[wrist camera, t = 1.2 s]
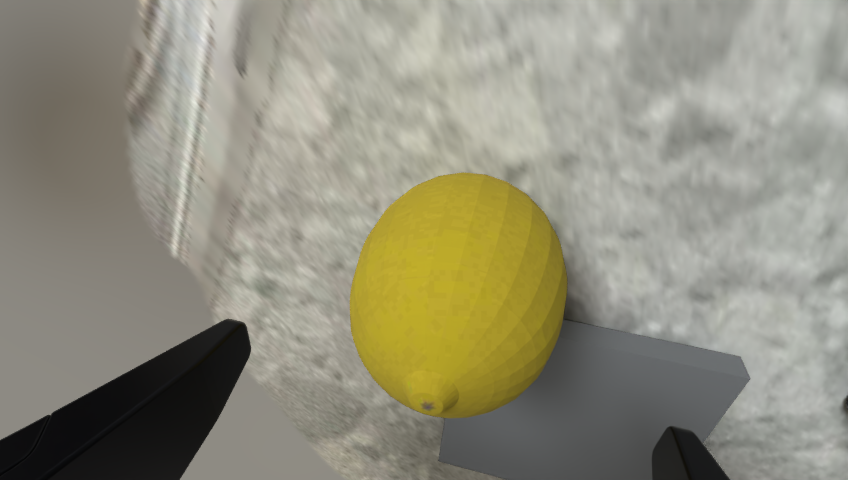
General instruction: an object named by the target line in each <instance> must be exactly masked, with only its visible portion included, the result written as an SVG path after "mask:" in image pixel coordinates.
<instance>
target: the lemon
mask: <svg viewBox="0 0 848 480" xmlns="http://www.w3.org/2000/svg"><path fill="white" fill-rule="evenodd" d="M566 295H567V273H566V268H565V264H564V259H563V254H562V249H561V245H560V242H559V239H558V237H557V235H556V233H555V231H554V229H553V228H552V226H551V224H550V222H549V220H548V218H547V217H546V215H545V213H544V212H543V211H542V210H541V209H540V208H539V207H538V206H537V205H536V204H535V203H534V201H533V200H532V199H531V198H530V197H529V196H528V195H527V194H525V193H524V192H522V191H521V190H519V189H517V188H516V187H514V186H513V185H511V184H509V183H508V182H506V181H503V180H500V179H497V178H494V177H491V176H488V175H483V174H473V173H457V174H450V175H443V176H438V177H436V178H433V179H431V180H428V181H426V182H424V183H421V184H419V185H417V186H415V187H413V188H412V189H410V190H409V191H408V192H407V193H405V194H404V195H403V196H401V197H400V198H399V199H398V200H396V201H395V202H394V203H393V204H391V205H390V206H389V207H388V209H387V210H386V211H385V212H384V214H383V215H382V216H381V218H380V219H379V221H378V222H377V224H376V225H375V227H374V228H373V230H372V231H371V232H370V234H369V235H368V237H367V239H366V241H365V243H364V246H363V248H362V251H361V254H360V257H359V261H358V264H357V268H356V271H355V275H354V278H353V282H352V287H351V294H350V320H351V332H352V336H353V340H354V343H355V346H356V348H357V351H358V354H359V356H360V358H361V360H362V362H363V364H364V366H365V367H366V369H367V370H368V371H369V373H370V374H371V376H372V377H373V379H374V380H375V381H376V382H377V383H378V384H379V385H380V386H381V387H382V388H383V389H384V390H385V391H386V392H387V393H388V394H389V395H390V396H391V397H393V398H394V399H396V400H397V401H399V402H400V403H402V404H403V405H405V406H407V407H409V408H411V409H413V410H416V411H418V412H420V413H423V414H426V415H431V416H435V417H443V418H468V417H472V416H477V415H481V414H485V413H489V412H492V411H494V410H496V409H498V408H500V407H502V406H504V405H506V404H508V403H509V402H511V401H513V400H515V399H516V398H517V397H518V396H519V395H520V394H521V393H523V392H524V391H525V390H526V389H527V388H528V387H529V386H530V385H531V384H532V383H533V382H534V381H535V380H536V379H537V378H538V376H539V375H540V373H541V372H542V370H543V368H544V366H545V364H546V362H547V361H548V359H549V357H550V355H551V353H552V351H553V349H554V347H555V344H556V342H557V339H558V337H559V334H560V330H561V327H562V323H563V316H564V310H565V302H566Z"/></svg>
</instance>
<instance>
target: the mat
mask: <svg viewBox="0 0 848 480" xmlns="http://www.w3.org/2000/svg"><path fill="white" fill-rule="evenodd" d="M749 380H750V377H749V374H748V372H747V370H746V368H745V365H744V363H743V361H742V359H741V357H740V356H735V355H730V354H725V353H721V352H716V351H711V350H706V349H702V348H697V347H692V346H688V345H683V344H678V343H673V342H669V341H664V340H659V339H654V338H650V337H645V336H640V335H635V334H631V333H626V332H621V331H616V330H612V329H607V328H602V327H597V326H593V325H588V324H583V323H578V322H574V321H569V320H564V319H563V323H562V327H561V330H560V334H559V337H558V339H557V342H556V344H555V347H554V349H553V351H552V353H551V355H550V357H549V359H548V361H547V362H546V364H545V366H544V368H543V370H542V372H541V373H540V375H539V376H538V378H537V379H536V380H535V381H534V382H533V383H532V384H531V385H530V386H529V387H528V388H527V389H526V390H525V391H524V392H523V393H521V394H520V395H519V396H518V397H517V398H516V399H515V400H513V401H511V402H509V403H508V404H506V405H504V406H502V407H500V408H498V409H496V410H494V411H492V412H489V413H485V414H481V415H477V416H472V417H468V418H445V422H444V428H443V435H442V441H441V447H440V453H439V460H438V461H440V462H443V463H447V464H451V465H455V466H458V467H462V468H466V469H469V470H473V471H477V472H480V473H484V474H488V475H492V476H495V477H499V478H503V479H506V480H652V452H653V449H654V447H655V445H656V444H657V442H658V441H659V439H660V437H661V436H662V434H663V433H664V431H665V430H666V428H667V427H669V426H676V427H681V428H685V429H689V430H691V431H693V432H694V433H695V434H696V435H697V436H698V438H699V439H700V440H701V442H702V443H703V442H704V441H705V439H706V438H707V437H708V435H709V434H710V433H711V431H712V430H713V429H714V427H715V426H716V425H717V423H718V422H719V421H720V419H721V418H722V416H723V415H724V414H725V412H726V411H727V410H728V408H729V407H730V406H731V404H732V403H733V402H734V400H735V399H736V398H737V396H738V395H739V394H740V392H741V391H742V389H743V388H744V387H745V385H746V384H747V383H748V381H749Z"/></svg>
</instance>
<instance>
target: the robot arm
mask: <svg viewBox="0 0 848 480" xmlns="http://www.w3.org/2000/svg"><path fill="white" fill-rule="evenodd" d="M250 352H251V345H250V340H249V335H248V331H247V327H246V325H245V323H244V322H241V321H236V320H232V319H226V320H223V321H221V322H219V323H218V324H216V325H214V326H212V327H210V328H208V329H206V330H205V331H203V332H201V333H199V334H197V335H195V336H193V337H192V338H190V339H188V340H186V341H184V342H182V343H181V344H179V345H177V346H175V347H173V348H171V349H169V350H168V351H166V352H164V353H162V354H160V355H158V356H156V357H155V358H153V359H151V360H149V361H147V362H145V363H143V364H142V365H140V366H138V367H136V368H134V369H132V370H130V371H129V372H127V373H125V374H123V375H121V376H119V377H117V378H116V379H114V380H112V381H110V382H108V383H106V384H104V385H103V386H101V387H99V388H97V389H95V390H93V391H91V392H90V393H88V394H86V395H84V396H82V397H80V398H78V399H77V400H75V401H73V402H71V403H69V404H67V405H65V406H64V407H62V408H60V409H58V410H56V411H54V412H53V413H52V414H51V415H47V416H45V417H43V418H41V419H39V420H37V421H36V422H34V423H32V424H30V425H28V426H26V427H25V428H22V429H20V430H18V431H16V432H15V433H13V434H11V435H9V436H7V437H5V438H3V439H1V440H0V480H180V478H181V477H182V475H183V473H184V472H185V470H186V469H187V467H188V466H189V464H190V462H191V461H192V459H193V458H194V456H195V454H196V453H197V451H198V450H199V448H200V447H201V445H202V443H203V442H204V440H205V439H206V437H207V436H208V434H209V432H210V431H211V429H212V428H213V426H214V424H215V423H216V421H217V419H218V417H219V415H220V414H221V412H222V410H223V408H224V406H225V404H226V402H227V400H228V398H229V396H230V394H231V392H232V390H233V388H234V386H235V384H236V382H237V380H238V378H239V376H240V374H241V372H242V370H243V368H244V366H245V364H246V362H247V360H248V358H249V356H250ZM846 407H847V409H848V400H847V402H846ZM652 480H730V479H729V478H728V476H727V475H726V474H725V472H724V471H723V470H722V468H721V467H720V466H719V464H718V463H717V462H716V460H715V459H714V458H713V456H712V455H711V454H710V452H709V451H708V450H707V448H706V447H705V446H704V444H703V443H702V442H701V440H700V439H699V438H698V436H697V435H696V434H695V433H694V432H693V431H691V430H689V429H685V428H681V427H676V426H669V427H667V428H666V430H665V431H664V433H663V434H662V436H661V437H660V439H659V441H658V442H657V444H656V445H655V447H654V449H653V452H652Z"/></svg>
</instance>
